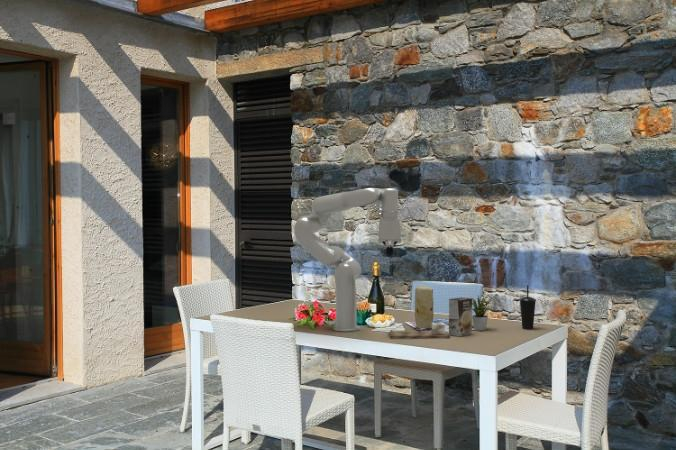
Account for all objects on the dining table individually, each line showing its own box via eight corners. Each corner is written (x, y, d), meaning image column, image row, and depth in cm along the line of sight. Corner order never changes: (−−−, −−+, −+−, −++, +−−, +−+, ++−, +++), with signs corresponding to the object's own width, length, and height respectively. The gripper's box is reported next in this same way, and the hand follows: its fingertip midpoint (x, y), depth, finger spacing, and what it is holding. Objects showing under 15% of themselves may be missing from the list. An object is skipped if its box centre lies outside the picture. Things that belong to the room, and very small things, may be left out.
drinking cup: (517, 329, 339) (517, 286, 338) (521, 326, 346) (521, 284, 345) (534, 330, 335) (534, 286, 335) (537, 327, 342) (537, 285, 341)
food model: (436, 328, 342) (436, 286, 341) (429, 331, 337) (428, 287, 336) (418, 326, 348) (418, 284, 347) (411, 328, 343) (410, 286, 342)
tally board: (390, 338, 320) (389, 335, 319) (388, 334, 330) (388, 331, 329) (449, 338, 319) (449, 335, 319) (446, 333, 329) (446, 330, 329)
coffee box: (459, 336, 323) (459, 300, 322) (448, 334, 327) (448, 298, 327) (472, 333, 329) (472, 298, 328) (461, 332, 334) (461, 296, 333)
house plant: (496, 333, 330) (496, 297, 329) (465, 332, 332) (465, 296, 332) (496, 327, 343) (496, 292, 343) (466, 326, 346) (466, 292, 346)
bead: (433, 334, 321) (433, 325, 321) (431, 331, 327) (431, 322, 327) (444, 334, 321) (444, 324, 321) (442, 331, 327) (442, 322, 327)
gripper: (373, 215, 331) (373, 256, 331) (406, 215, 330) (406, 256, 331) (372, 215, 338) (372, 255, 339) (405, 215, 338) (405, 255, 339)
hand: (389, 255), depth 335 cm, fingers closed
